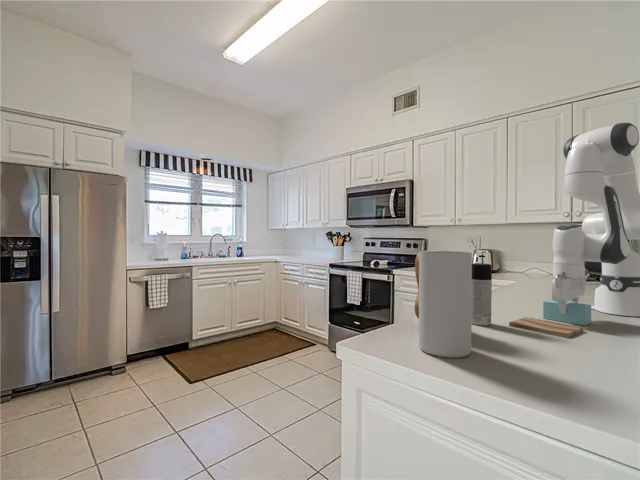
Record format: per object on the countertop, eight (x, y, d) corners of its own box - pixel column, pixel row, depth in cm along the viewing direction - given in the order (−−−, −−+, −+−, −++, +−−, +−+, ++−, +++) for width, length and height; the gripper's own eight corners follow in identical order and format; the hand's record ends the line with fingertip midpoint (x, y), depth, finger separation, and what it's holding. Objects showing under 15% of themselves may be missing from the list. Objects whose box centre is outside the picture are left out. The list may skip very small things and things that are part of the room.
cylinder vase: (408, 345, 88) (409, 251, 88) (446, 340, 93) (446, 251, 92) (442, 361, 76) (442, 253, 76) (482, 355, 81) (483, 252, 81)
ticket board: (526, 320, 115) (526, 316, 115) (582, 331, 102) (582, 326, 102) (509, 325, 108) (509, 321, 108) (567, 338, 95) (567, 333, 95)
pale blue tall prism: (550, 315, 121) (550, 299, 121) (591, 322, 112) (591, 305, 112) (543, 318, 118) (543, 301, 118) (584, 325, 108) (584, 307, 108)
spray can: (486, 321, 114) (486, 263, 114) (495, 326, 107) (495, 264, 107) (466, 320, 115) (466, 263, 114) (473, 326, 108) (473, 264, 108)
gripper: (567, 274, 106) (568, 318, 106) (589, 270, 118) (589, 308, 118) (545, 273, 111) (545, 314, 111) (568, 268, 123) (568, 306, 123)
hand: (568, 311), depth 115 cm, fingers open, 8 cm apart
